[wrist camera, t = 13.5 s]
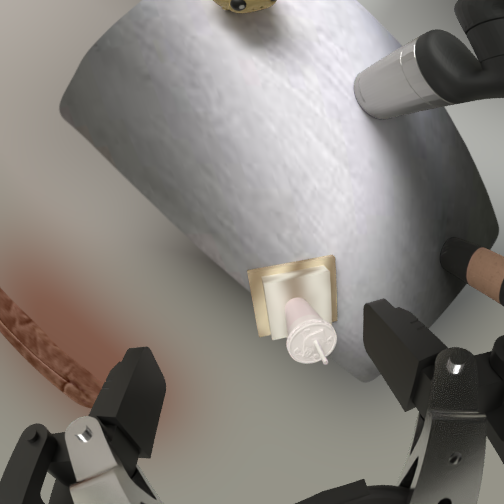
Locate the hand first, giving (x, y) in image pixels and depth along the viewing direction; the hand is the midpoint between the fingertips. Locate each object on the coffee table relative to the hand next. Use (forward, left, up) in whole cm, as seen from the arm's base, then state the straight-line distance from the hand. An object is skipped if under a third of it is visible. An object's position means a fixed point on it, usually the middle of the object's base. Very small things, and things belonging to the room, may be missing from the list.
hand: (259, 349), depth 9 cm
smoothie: (-6, +15, -28) cm, 33 cm away
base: (-7, +15, -32) cm, 36 cm away
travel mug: (-42, +14, -33) cm, 55 cm away
